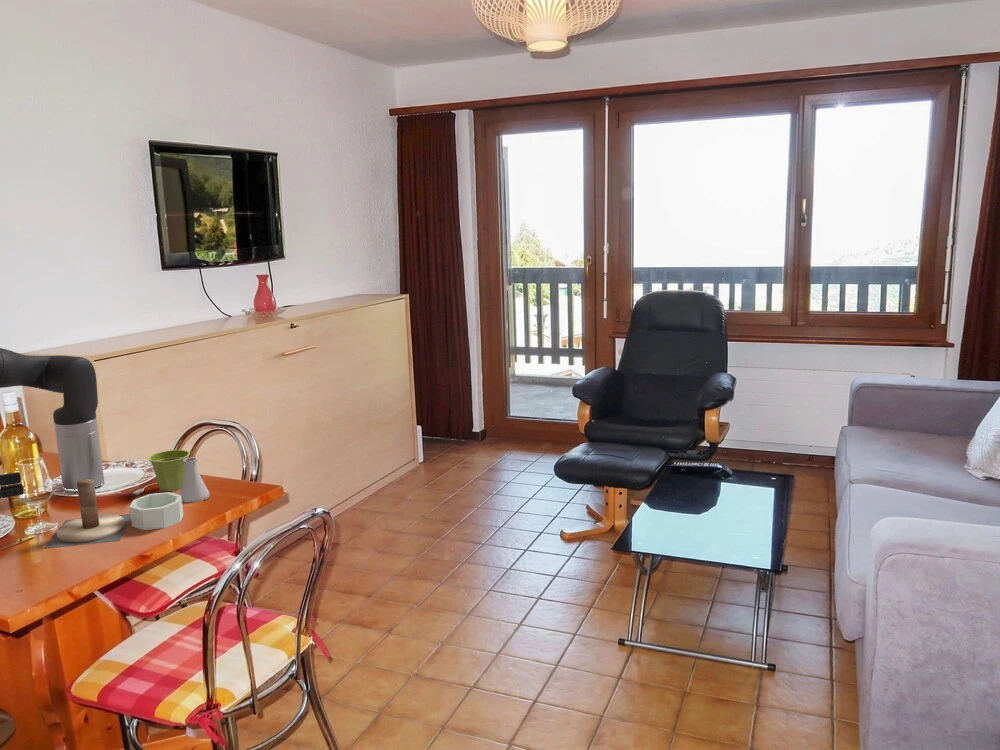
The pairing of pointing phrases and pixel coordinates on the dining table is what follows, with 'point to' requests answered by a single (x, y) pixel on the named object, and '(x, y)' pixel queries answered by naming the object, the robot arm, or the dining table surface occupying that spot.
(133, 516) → the bowl
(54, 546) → the mat
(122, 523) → the lid
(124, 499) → the dining table surface
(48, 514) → the dining table surface
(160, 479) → the plant pot
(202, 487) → the flask
